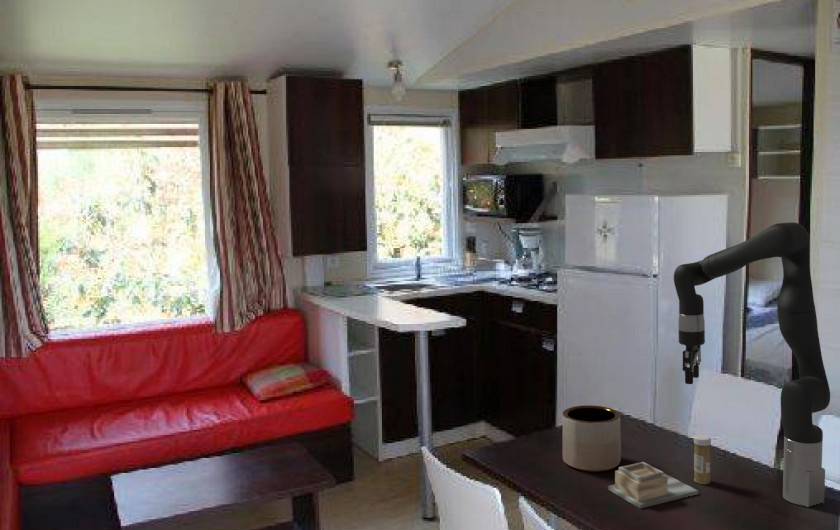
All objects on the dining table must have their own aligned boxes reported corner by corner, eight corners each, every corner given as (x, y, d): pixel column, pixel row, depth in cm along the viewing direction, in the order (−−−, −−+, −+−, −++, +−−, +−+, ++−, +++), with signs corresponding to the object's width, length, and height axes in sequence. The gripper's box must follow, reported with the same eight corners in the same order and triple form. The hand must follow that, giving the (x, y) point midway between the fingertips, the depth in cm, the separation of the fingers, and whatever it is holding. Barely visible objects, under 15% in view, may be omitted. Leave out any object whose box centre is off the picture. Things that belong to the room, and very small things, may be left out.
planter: (622, 474, 225) (622, 423, 223) (562, 471, 228) (561, 421, 226) (619, 452, 242) (619, 405, 240) (563, 450, 246) (562, 404, 244)
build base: (698, 494, 209) (698, 469, 209) (640, 508, 202) (640, 482, 201) (663, 476, 222) (663, 452, 221) (607, 489, 215) (607, 465, 214)
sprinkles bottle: (713, 484, 216) (714, 438, 214) (698, 485, 215) (698, 440, 213) (705, 477, 220) (705, 433, 219) (690, 479, 220) (691, 434, 218)
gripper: (699, 333, 221) (700, 387, 223) (709, 325, 233) (709, 376, 235) (673, 331, 225) (674, 385, 226) (683, 323, 237) (684, 374, 239)
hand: (692, 380), depth 231 cm, fingers open, 8 cm apart
